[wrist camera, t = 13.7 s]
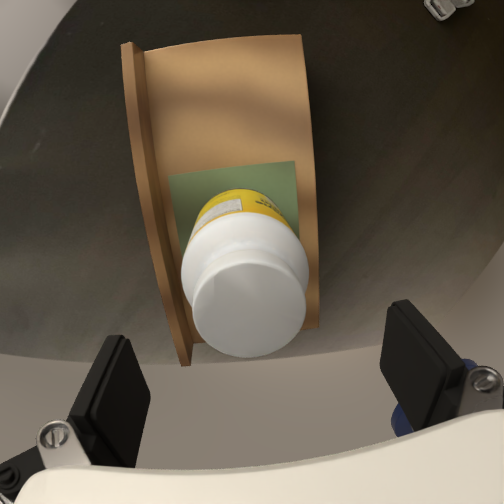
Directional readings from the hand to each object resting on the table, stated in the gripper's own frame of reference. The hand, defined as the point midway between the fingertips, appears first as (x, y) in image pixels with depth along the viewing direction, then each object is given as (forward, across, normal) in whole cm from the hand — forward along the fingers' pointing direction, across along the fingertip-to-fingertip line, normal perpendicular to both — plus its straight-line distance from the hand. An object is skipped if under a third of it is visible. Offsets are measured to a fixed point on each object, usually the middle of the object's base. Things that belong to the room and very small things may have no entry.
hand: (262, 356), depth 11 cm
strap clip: (+20, -25, -24) cm, 40 cm away
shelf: (+20, +1, -3) cm, 20 cm away
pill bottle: (+14, 0, 0) cm, 14 cm away
